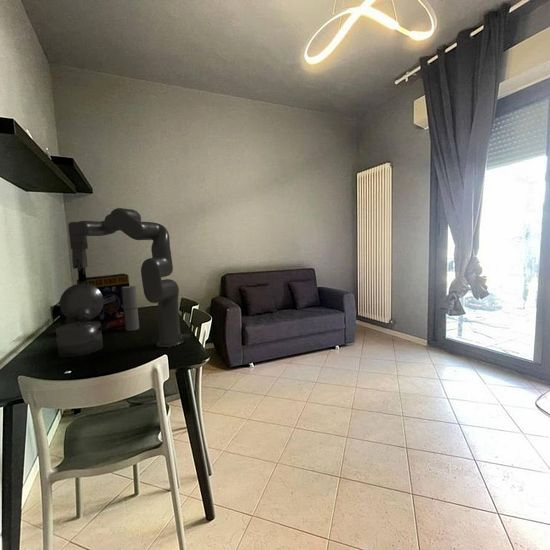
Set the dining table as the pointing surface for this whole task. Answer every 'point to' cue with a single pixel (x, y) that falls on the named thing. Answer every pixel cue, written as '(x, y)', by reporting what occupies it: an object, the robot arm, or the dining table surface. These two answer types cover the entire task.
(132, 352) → the dining table surface
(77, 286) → the cooker lid
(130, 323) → the cylindrical container
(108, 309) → the cereal box
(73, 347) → the cooker pot
